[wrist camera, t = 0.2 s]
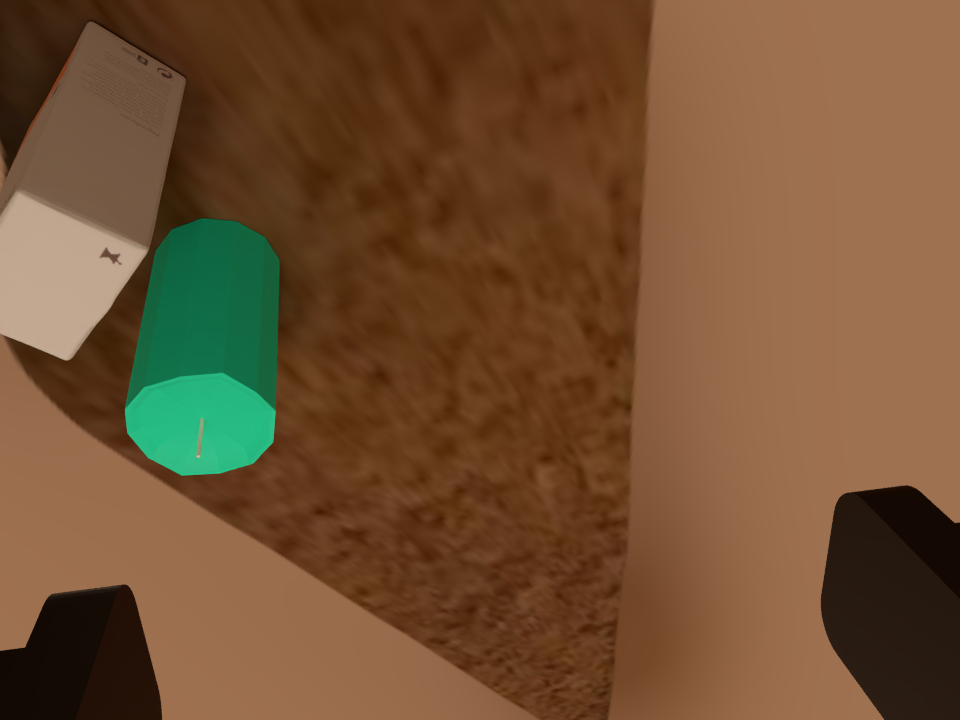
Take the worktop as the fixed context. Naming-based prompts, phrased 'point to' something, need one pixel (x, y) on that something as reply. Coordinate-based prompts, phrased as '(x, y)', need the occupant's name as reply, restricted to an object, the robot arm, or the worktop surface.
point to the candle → (207, 350)
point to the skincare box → (85, 191)
